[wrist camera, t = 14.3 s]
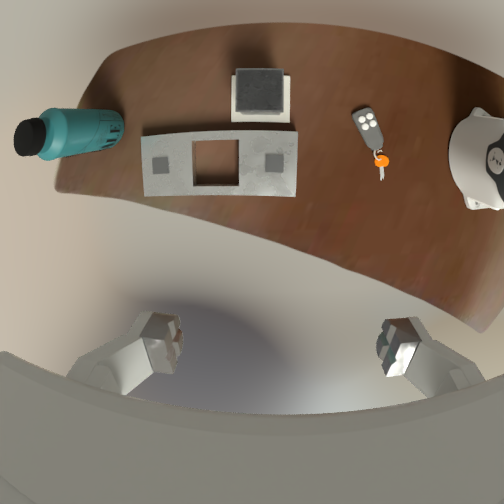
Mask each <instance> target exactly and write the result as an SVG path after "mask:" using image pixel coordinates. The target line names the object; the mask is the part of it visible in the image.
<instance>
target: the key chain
mask: <svg viewBox="0 0 504 504" xmlns="http://www.w3.org/2000/svg"><path fill="white" fill-rule="evenodd" d="M352 118H353V121H354V123H355V124H356V126H357V128H358V130H359V132H360V134H361V136H362V138H363V140H364V142H365V143H366V145H367V146H368V147H369V148H371V150H373V151H374V152H373V153H374V157H375V160H374V162H375V165H376V166H378V167H380V174H381V177H380V180H382V178H383V179H384V169H383V167H385V166H387V165H388V164H389V159H388V158H387V157H386V156H384V155H378V156H377V157H376V155H375V151H376V150H378V149H380V148H382V146H383V144H382V143H383V142H384V141H383V136H382V133H381V131H380V128H379V125H378V122H377V120H376V117H375V115H374V112H373V111H372V109H371V108H368V107H367V108H364V109H361V110H359V111H357V112H354V113H353V114H352ZM379 151H382V150H379ZM379 151H378V152H379Z"/></svg>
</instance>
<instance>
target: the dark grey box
mask: <svg viewBox="0 0 504 504" xmlns="http://www.w3.org/2000/svg"><path fill="white" fill-rule="evenodd" d="M235 112H240V113H241V114H242V115H280V113H283V112H284V69H273V68H239V69H236V98H235Z"/></svg>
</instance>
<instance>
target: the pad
mask: <svg viewBox="0 0 504 504" xmlns="http://www.w3.org/2000/svg"><path fill="white" fill-rule="evenodd" d="M235 98H236V75H232V96H231V122H282V123H290V76H284V112H283V113H280V115H242V114H241V113H240V112H235Z"/></svg>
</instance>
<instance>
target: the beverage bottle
mask: <svg viewBox="0 0 504 504" xmlns="http://www.w3.org/2000/svg"><path fill="white" fill-rule="evenodd" d="M123 132H124V122H123V119H122V117H121V116H120V114H118V113H117V112H115V111H113V110H103V109H102V110H101V109H98V108H97V109H58V108H50V109H47V110H46V111H44V112H43V113H42V114H41V115H40V116H39V118H31V119H27V120H24V121H22V122H21V123H20V124H19V125H18V126H17V129H16V131H15V134H14V148H15V151H16V152H17V154H19V155H20V156H33V155H38V156H39V157H40V158H41V159H43V160H46V161H50V160H54V159H56V158H60V157H65V156H67V157H69V156H71V155H72V156H74V155H75V154H78V155H79V154H80V153H82V154H83V153H85V152H87V153H88V152H90V151H94V152H96V150H99V151H101V150H102V149H105V150H106V149H107V148H109V149H110V148H111V147H113V146H114V145H116V144H117V143H118V142H119V141H120V139H121V137H122V135H123ZM67 157H66V158H67Z"/></svg>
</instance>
